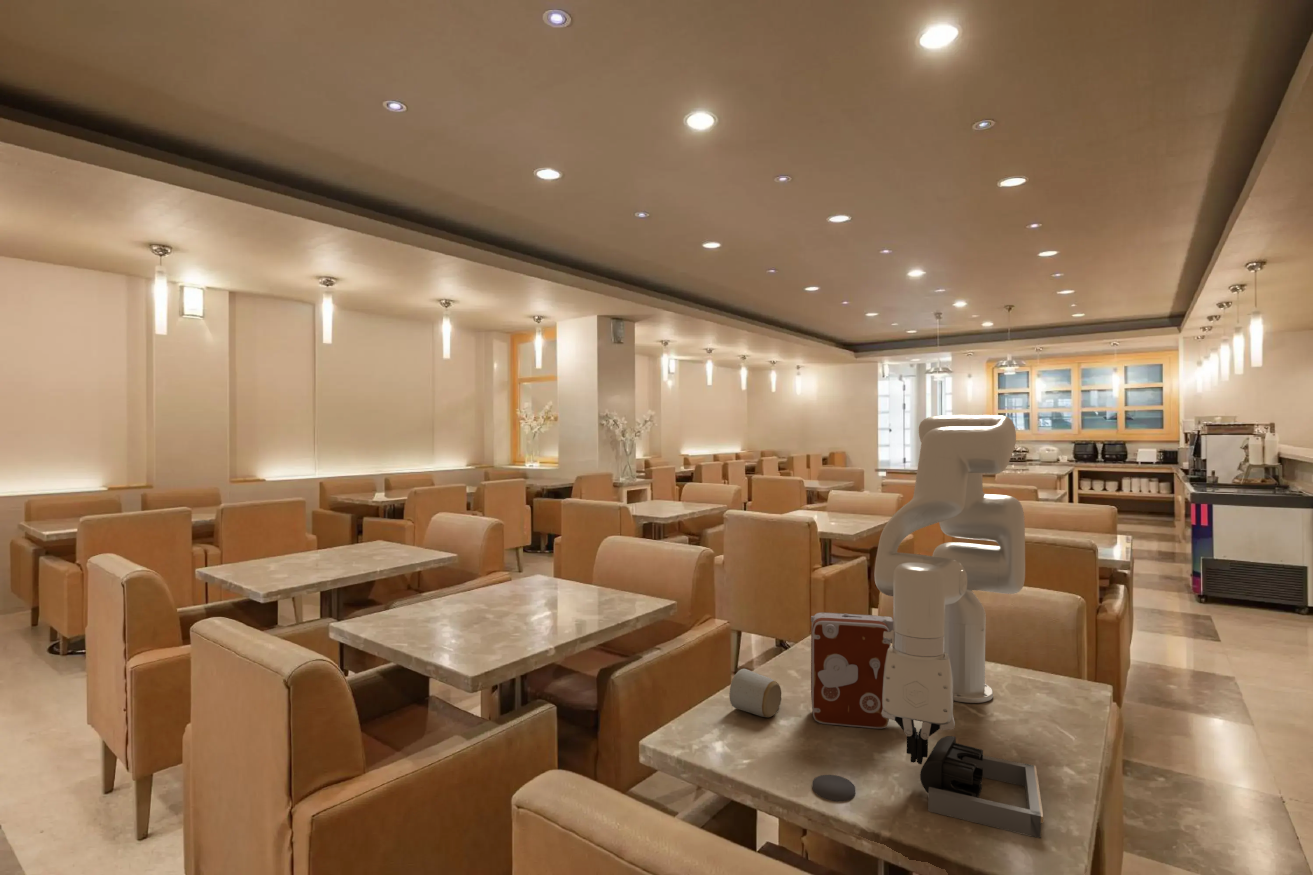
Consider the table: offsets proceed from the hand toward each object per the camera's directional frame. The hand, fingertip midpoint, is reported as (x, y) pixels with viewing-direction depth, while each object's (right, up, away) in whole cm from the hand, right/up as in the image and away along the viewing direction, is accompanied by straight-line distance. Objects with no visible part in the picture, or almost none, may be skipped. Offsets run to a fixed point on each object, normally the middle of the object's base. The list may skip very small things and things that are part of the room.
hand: (917, 759), depth 104 cm
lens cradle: (+8, -4, -4) cm, 9 cm away
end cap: (+4, -4, -3) cm, 6 cm away
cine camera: (-2, -4, +22) cm, 23 cm away
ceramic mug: (-21, -4, +27) cm, 34 cm away
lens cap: (-14, -4, -2) cm, 14 cm away
